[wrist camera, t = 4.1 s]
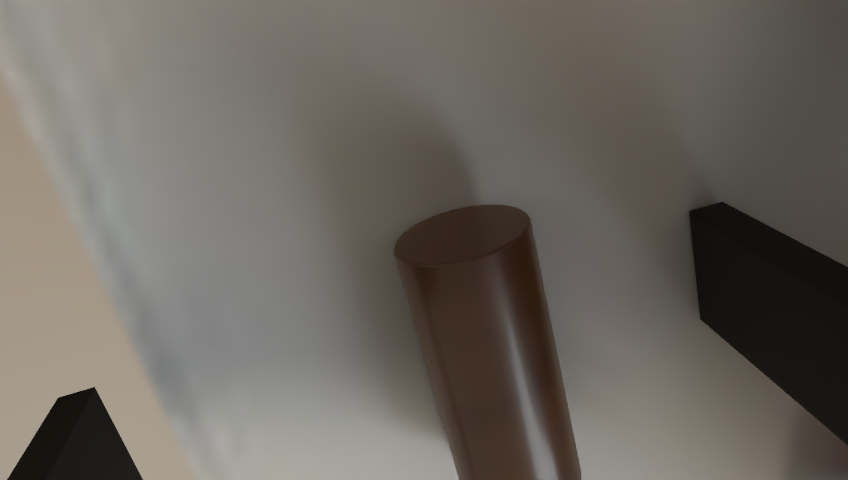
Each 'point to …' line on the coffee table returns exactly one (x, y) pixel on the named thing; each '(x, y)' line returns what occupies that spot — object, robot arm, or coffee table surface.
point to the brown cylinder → (489, 343)
